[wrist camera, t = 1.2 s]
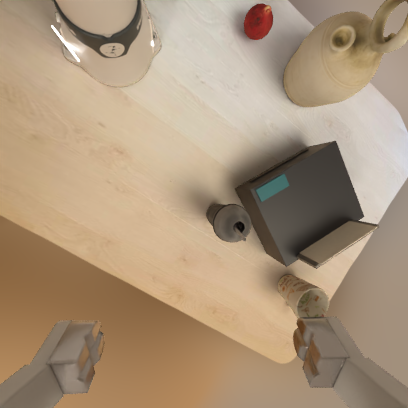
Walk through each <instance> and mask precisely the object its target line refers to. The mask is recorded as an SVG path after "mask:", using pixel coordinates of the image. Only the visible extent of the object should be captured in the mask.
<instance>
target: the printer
mask: <svg viewBox="0 0 408 408" xmlns="http://www.w3.org/2000/svg"><path fill="white" fill-rule="evenodd" d="M235 190H236V192H237V194H238V196H239V198H240V200H241V202H242V204H243V206H244V208H245V210H246V211H247V213H248V214H249V216H250V219H251V223H252V225H253V227H254V229H255V231H256V233H257V235H258V237H259V239H260V241H261V243H262V245H263V247H264V249H265V251H266V253H267V254H268V255H270V256H271V257H273V258H274V259H276V260H277V261H279V262H280V263H282V264H283V265H285V266H286V267H287V266H289V265H290V264H292V263H293V262H295V261H296V260H298V259H300V260H301V261H303V262H305V263H307V264H309V265H310V266H312V267H314V268H316V269H317V268H318V267H320V266H321V265H323V264H324V263H326V262H327V261H329V260H330V259H332V258H334V257H335V256H337V255H338V254H340V253H341V252H343V251H344V250H346V249H347V248H349V247H350V246H352V245H353V244H355V243H356V242H358V241H359V240H361V239H362V238H364V237H365V236H367V235H368V234H370V233H371V232H373V231H374V230H376V229H377V228H379V225H377V224H372V223H367V222H362V221H358V220H360V219H362V218H363V217H364V215H363V212H362V209H361V207H360V204H359V201H358V199H357V196H356V193H355V191H354V188H353V185H352V183H351V180H350V177H349V175H348V172H347V169H346V167H345V164H344V161H343V159H342V156H341V153H340V151H339V148H338V145H337V143H336V141H333V142H328V143H324V144H319V145H314V146H310V147H307V148H305V149H303V150H302V151H300V152H298V153H296V154H295V155H293V156H291V157H289V158H287V159H286V160H284V161H282V162H280V163H279V164H277V165H275V166H273V167H272V168H270V169H268V170H266V171H265V172H263V173H261V174H259V175H257V176H256V177H254V178H252V179H250V180H249V181H247V182H245V183H243V184H242V185H240V186H238V187H236V188H235Z"/></svg>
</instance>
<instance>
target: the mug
mask: <svg viewBox="0 0 408 408" xmlns="http://www.w3.org/2000/svg"><path fill="white" fill-rule="evenodd" d="M278 291H279V293H280V294H281V296H282V297H283V298H284V300H285V301H286V302H287V303H288V305H289V306H290V307H291V309H292V310H293V311H294V313H295V315H296V317H297V318H300V317H324V315H325V314H326V312H327V310H328V307H329V298H328V295H327V294H326V292H325V291H324V290H322V289H321V288H319V287H317V286H314V285H312V284H310V283H308V282H306V281H304V280H302V279H300V278H297V277H295V276H293V275H285V276H283V277H282V278H281V279H280V280H279V282H278Z"/></svg>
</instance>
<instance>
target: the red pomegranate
mask: <svg viewBox="0 0 408 408" xmlns="http://www.w3.org/2000/svg"><path fill="white" fill-rule="evenodd" d="M272 24H273V15H272V11H271V6H269V5H265V4H256V5H255V6H253V7H252V8H251V9H250V10H249V11H248V13H247V14H246V17H245V20H244V30H245V33H246V35H247V37H249V38H250V39H253V40H259V39H262V38H263V37H265V36H266V35H267V34H268V32H269V31H270V29H271V27H272Z"/></svg>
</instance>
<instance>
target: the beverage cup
mask: <svg viewBox="0 0 408 408" xmlns="http://www.w3.org/2000/svg"><path fill="white" fill-rule="evenodd" d="M206 216H207V219H208V220H209V222H210V223H211V225H212V226H213V229H214V232H215V233H216V235H217V236H218V237H219V238H220V239H222V240H224V241H227V242H238V241H241V240H243V241H246V238H245V237H247V235H248V234H249V232H250V229H251V219H250V216H249V214H248V213H247V211H246V210H245V209H244V208H242V207H241V206H239V205H236V204H228V205H220V204H216V205H212V206H210V207H209V208H208V210H207V213H206Z"/></svg>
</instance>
